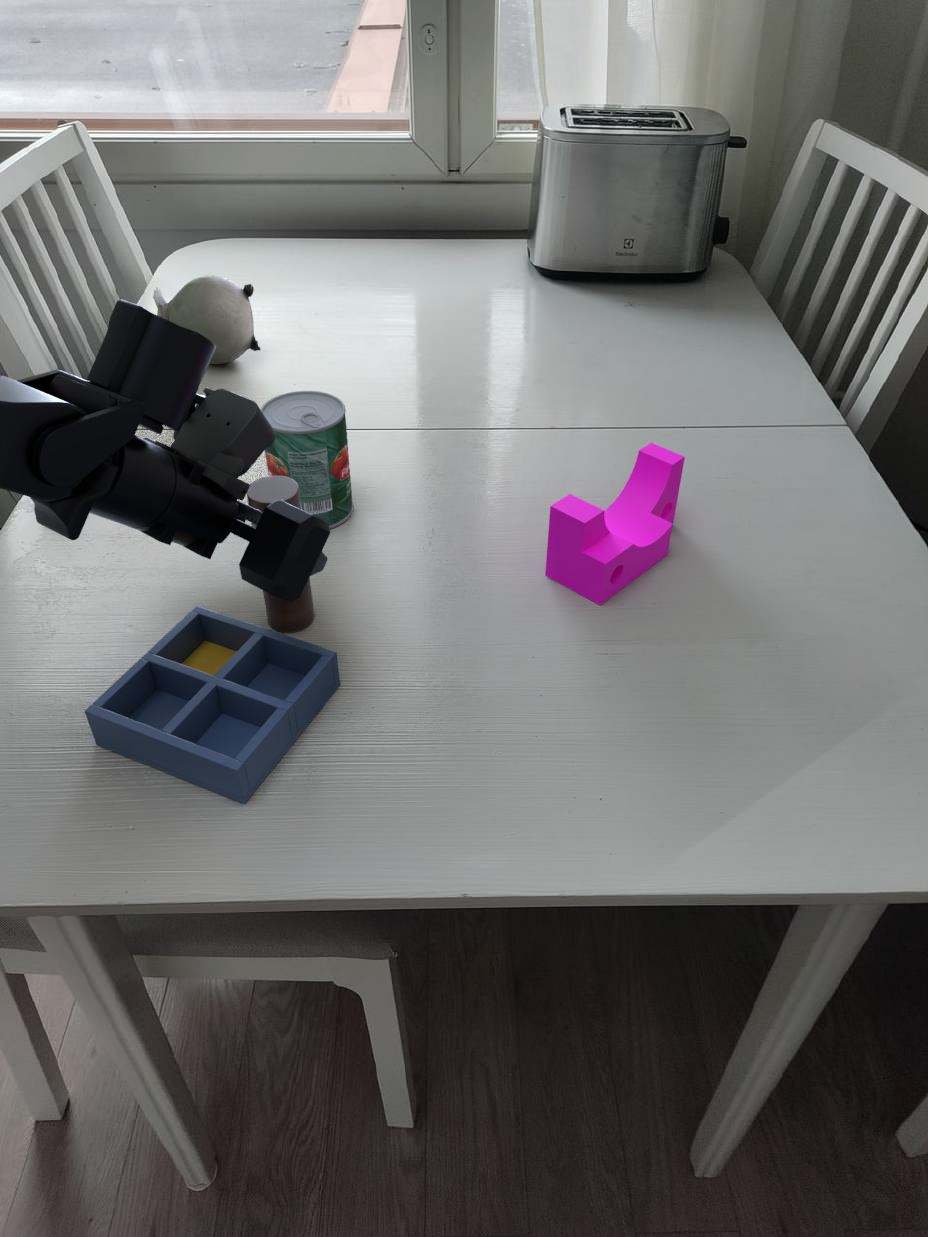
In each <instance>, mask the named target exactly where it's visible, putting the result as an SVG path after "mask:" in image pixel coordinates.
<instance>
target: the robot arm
mask: <svg viewBox="0 0 928 1237" xmlns="http://www.w3.org/2000/svg"><path fill="white" fill-rule="evenodd" d="M215 349H216V346H215V344H214V343H213V342H211V341H210V340H209V339H207V338H206V337H204V336H203V335H201V334H200V333H198V332H196V331H193V330H190V329H187V328H184V327H181V326H179V325H177V324H175V323H172V322H170V321H168V320H166V319H164V318H162V317H160V316H157V314H155V313H153V312H151V311H149V310H148V309H147V308H145V307H143V306H142V305H139V304H136V303H132V302H129V301H126V300H124V299H118V300H117V301H116V303H115V305H114V307H113V309H112V311H111V315H110V317H109V320H108V326H107V330H106V333H105V335H104V337H103V340H102V342H101V345H100V347H99V349H98V352H97V353H96V356H95V359H94V361H93V363H92V366H91V368H90V371H89V373H88V375H87V377H86V379H85V378H82V377H80V376H76V375H75V374H72V373H69V372H67V371H64V370H61V369H59V368H57V369H53V370H50V371H46V372H43V373H39V374H36V375H35V374H34V375H31V376H27V377H24V378H21V379H17V380H15V379H12V378H10V377H8V376H4V375H0V489H1V490H4V491H7V492H12V493H15V494H19V495H21V496H25V497H28V498H30V500H31V501H32V503H33V504H34V505H33V506H34V507H33V511H34V515H35V520H36V522H37V523H38V524H39V525H41V526H43V527H45V528H46V529H49V530H51V531H52V532H54V533H56V534H58V535H60V536H62V537H64V538H66V539H68V540H70V541H76V540H78V539H79V538H80V536H81V534H82V531H83V529H84V526H85V524H86V522H87V520H88V517H89V515H90V514H91V515H94V516H97V517H100V518H103V519H106V520H109V521H111V522H115V523H117V524H120V525H123V526H126V527H128V528H131V529H134V530H137V531H139V532H141V533H143V534H145V535H146V536H149V537H150V538H152V539H154V540H156V541H157V542H160V543H162V544H165V545H168V546H171V545H172V543H174V544H177V545H180V546H182V547H183V548H185V549H187V550H189V551H191V552H192V553H195V554H196V555H198V556H200V557H202V558H206V559H208V560H211V559H212V557H213V554H214V552H215V550H216V548H217V546H218V544H222V543H224V541H226V540H227V538H228V537H229V536H230V534H232V535H234V536H236V537H238V538H240V539H242V540H244V541H247V543H248V544H247V546H246V548H245V550H244V552H243V554H242V557H241V559H240V561H239V563H238V567H239V572H240V578H241V580H243V581H244V582H246V583H248V584H249V585H252V586H254V587H255V588H257V589H259V590H261V591H262V592H263V591H265V592H267V593H269V594H271V595H272V596H274V597H277V598H280V599H283V600H286V601H289V602H292V601H295V600H297V599H299V598H300V597H301V595H302V593H303V591H304V588H305V586H306V584H307V582H308V580H309V578H310V579H311V577H312V576H314V575H316V574H318V573H321V572H322V571H323V570H324V569H325V567H326V565H327V563H328V559H329V558H328V556H327V555H326V554H325V553H324V552H323V550H324V547H325V546H326V543H327V542H328V539H329V537H330V536H331V535H330V534H331V529H330V528H329V524H328V522H326V521H324V520H322V519H320V518H318V517H316V516H314V515H312V514H310V513H307V512H305V511H303V510H301V509H299V508H297V507H295V506H292V505H290V504H288V503H286V502H284V501H282V500H280V499H278V500H276V501H275V502H273V503H272V504H270V505H268V506H267V507H265V509H264V511H263V512H261V511H259V510H257V509H255V508H253V507H251V506H249V505H248V503H245V502H243V500H245V497H246V496H247V494H246V493H247V491H248V489H249V487H250V484H251V483H248V482H246V481H244V480H241V479H240V478H239V477H242V476H244V475H245V474H246V473H248V471H249V470H250V469H251V468H252V467H253V465H254V464H255V462H257V460H259V458H260V457H261V455H262V454H263V453H265V449H266V448H267V447H270V446H271V445H272V444H273V442H274V441H275V439H276V432H275V431H274V429H273V428H272V426H271V424H270V423H269V421H268V420H267V418H266V417H265V415H264V414H263V412H262V411H261V407H260V406H259V405H258V403H257V402H256V401H255V400H253V399H250V398H248V397H246V396H243V395H240V394H238V393H236V392H234V391H231V390H228V389H225V388H216V389H212V388H210V387H205V388H204V389H203V394H198V393H197V392H198V390H199V388H200V386H201V383H202V381H203V378H204V376H205V374H206V372H207V369H208V367H209V365H210V360H211V358H212V356H213V353H214V351H215ZM139 427H141V428H143V429H146V430H148V431H150V432H152V433H155V434H157V435H162V433H163V431H164V427H167V428H168V429H170V430H172V431H173V433H172V438H173V441H172V442H171V444H170V445H168V444H165V443H163V442H161V441H159V440H157V439H155V440H153V439H152V438H149V437H148V436H145V437H144V438H142V437H140V436H138V435H136V433H137V430H138V429H139ZM246 521H247V522H250V524H251V523H253V524H255V525H257V526H256V528H254V527H252V525H250V524H248V523H246Z"/></svg>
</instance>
